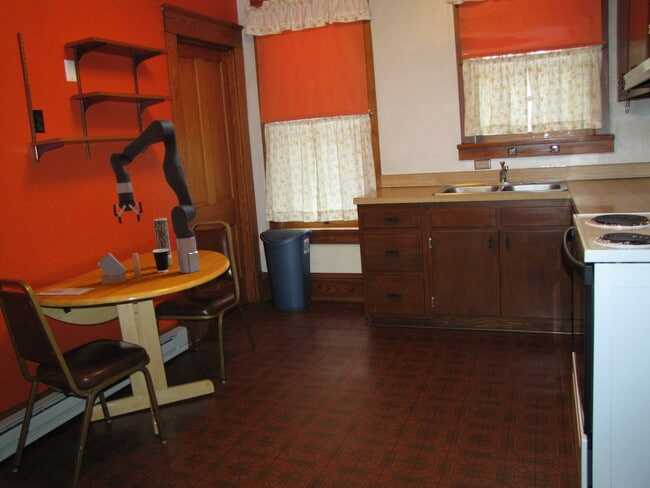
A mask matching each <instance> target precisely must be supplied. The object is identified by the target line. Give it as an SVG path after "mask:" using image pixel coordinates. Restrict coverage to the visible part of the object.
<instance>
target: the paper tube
mask: <svg viewBox="0 0 650 488" xmlns="http://www.w3.org/2000/svg"><path fill="white" fill-rule="evenodd" d="M153 229H154V236H155V241H156V250H157V249H169V250H168V267H170V266H172V265H173V259H172V258H173V257H172V249H171V241H170V233H169V223H168V219H167V217H160V218H153Z"/></svg>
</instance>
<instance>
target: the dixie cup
mask: <svg viewBox="0 0 650 488" xmlns="http://www.w3.org/2000/svg"><path fill="white" fill-rule="evenodd" d="M168 250H169V249H157V248H156V249H153V250H152V253H153V258H154V261H155V262H154V263H155V266H156V271H157V273H159V274H160V273H161V272H163V273H167V272H168V271H169V266H168Z"/></svg>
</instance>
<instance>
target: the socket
mask: <svg viewBox="0 0 650 488" xmlns="http://www.w3.org/2000/svg"><path fill="white" fill-rule="evenodd" d="M97 267H99V268H100V269H101V270H102V271H103V272H104V273H102V274H100V281H101V285H102V286H105V285H113V284H120V283H126V282H127V278H126V277H127V276H126V271H127V269H126V268H125V266H123V264H122V263H121V262H119V260H118V259H117V258H116V257H115V256H114V255H113V254H112V253H111V252H108V253H107V254H106V255H105V256H103V257H102V258H101V259H100V260H99V261H98V262H97Z"/></svg>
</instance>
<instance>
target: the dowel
mask: <svg viewBox="0 0 650 488" xmlns="http://www.w3.org/2000/svg"><path fill="white" fill-rule="evenodd" d="M131 258H132V265H133V272H134V279H135V280H136V279H137V280H138V278H139V279H142V273H141V272H142V271H141V265H140V264H141V263H140V257H139V253H137V252H135V253H131Z"/></svg>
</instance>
